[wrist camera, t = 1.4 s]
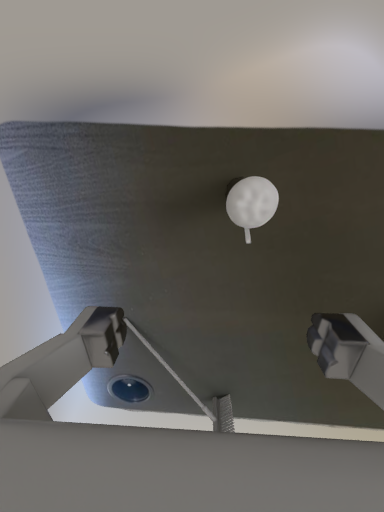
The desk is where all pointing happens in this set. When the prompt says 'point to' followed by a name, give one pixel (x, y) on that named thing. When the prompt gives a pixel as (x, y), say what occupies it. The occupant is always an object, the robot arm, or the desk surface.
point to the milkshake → (251, 202)
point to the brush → (219, 405)
